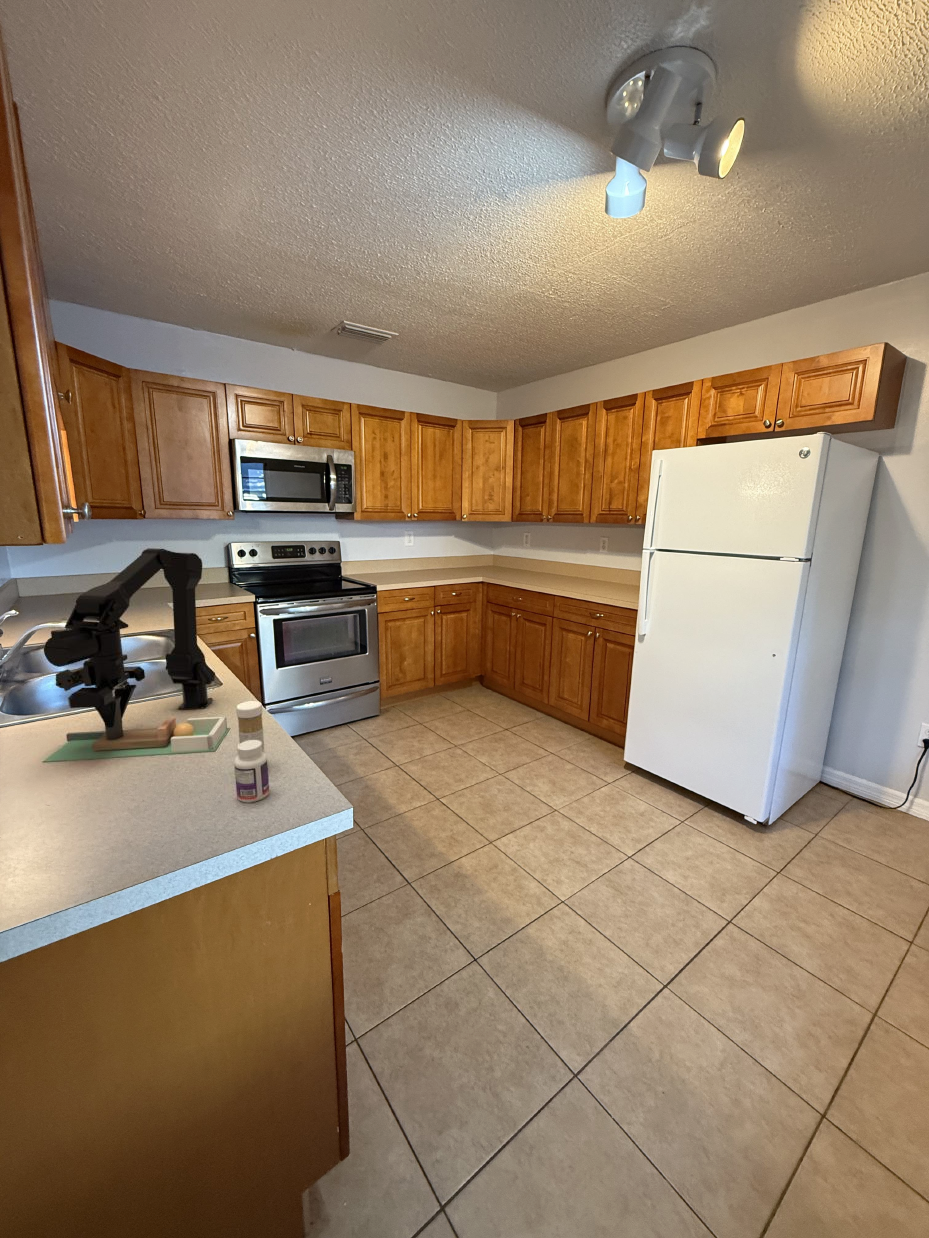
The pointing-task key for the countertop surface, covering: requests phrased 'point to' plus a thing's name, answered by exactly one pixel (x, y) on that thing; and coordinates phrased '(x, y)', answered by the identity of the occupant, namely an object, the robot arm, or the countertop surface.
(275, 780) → the countertop surface
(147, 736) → the striker sled
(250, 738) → the sprinkles bottle
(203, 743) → the box
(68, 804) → the countertop surface
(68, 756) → the mat
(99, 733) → the guide rail
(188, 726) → the foosball
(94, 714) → the countertop surface
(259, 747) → the pill bottle
